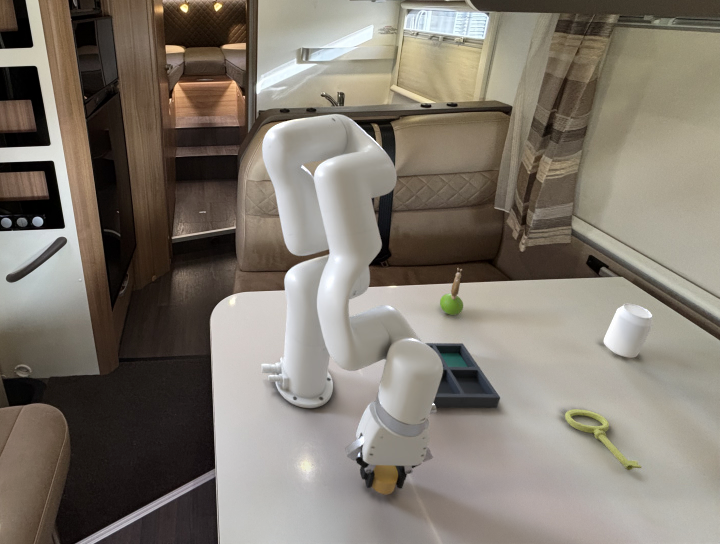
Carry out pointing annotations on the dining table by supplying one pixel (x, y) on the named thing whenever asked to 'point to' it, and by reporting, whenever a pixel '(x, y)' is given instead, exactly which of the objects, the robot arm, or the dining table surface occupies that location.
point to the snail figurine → (452, 298)
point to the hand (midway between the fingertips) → (381, 478)
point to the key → (599, 434)
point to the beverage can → (628, 330)
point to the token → (385, 478)
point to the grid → (462, 380)
